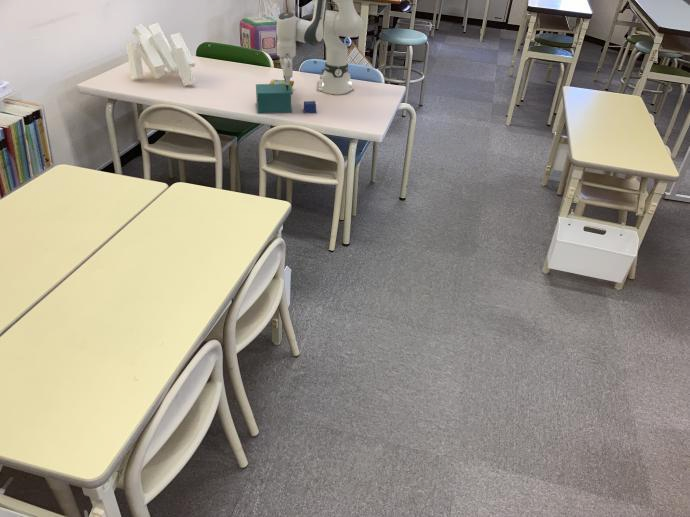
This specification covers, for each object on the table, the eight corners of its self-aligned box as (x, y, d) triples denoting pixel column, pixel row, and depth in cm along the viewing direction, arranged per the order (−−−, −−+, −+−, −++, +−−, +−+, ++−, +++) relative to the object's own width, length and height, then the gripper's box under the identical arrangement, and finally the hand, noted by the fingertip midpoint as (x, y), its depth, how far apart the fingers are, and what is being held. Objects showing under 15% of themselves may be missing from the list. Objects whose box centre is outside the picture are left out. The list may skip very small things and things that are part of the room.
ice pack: (303, 110, 268) (303, 101, 266) (314, 109, 269) (315, 101, 267) (304, 113, 265) (304, 104, 262) (316, 112, 266) (316, 104, 263)
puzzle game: (264, 90, 274) (271, 77, 290) (265, 99, 277) (272, 86, 293) (288, 92, 274) (293, 79, 290) (288, 101, 276) (293, 88, 293)
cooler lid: (289, 85, 270) (289, 75, 267) (292, 94, 260) (292, 83, 257) (255, 85, 267) (255, 75, 264) (257, 95, 257) (257, 84, 254)
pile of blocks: (208, 85, 304) (189, 19, 297) (193, 80, 275) (172, 7, 268) (149, 101, 307) (129, 36, 299) (128, 98, 278) (104, 26, 270)
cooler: (288, 103, 275) (288, 85, 270) (291, 112, 265) (290, 94, 260) (256, 103, 272) (255, 85, 267) (258, 113, 262) (257, 95, 257)
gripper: (295, 57, 246) (295, 88, 254) (290, 45, 262) (290, 74, 270) (281, 57, 245) (282, 88, 253) (277, 45, 261) (277, 74, 269)
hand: (286, 81), depth 262 cm, fingers open, 8 cm apart
